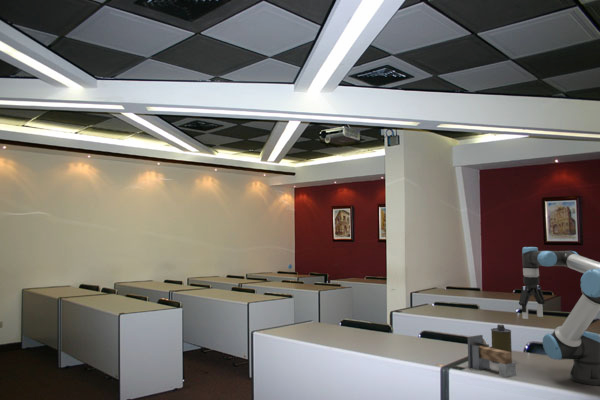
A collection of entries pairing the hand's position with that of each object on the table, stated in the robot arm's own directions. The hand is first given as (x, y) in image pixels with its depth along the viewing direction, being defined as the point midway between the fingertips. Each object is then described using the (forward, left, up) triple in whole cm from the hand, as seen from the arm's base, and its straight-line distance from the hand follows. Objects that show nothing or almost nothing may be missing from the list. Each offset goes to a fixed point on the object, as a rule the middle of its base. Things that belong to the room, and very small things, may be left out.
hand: (532, 317), depth 241 cm
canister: (+20, -2, -27) cm, 34 cm away
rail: (+11, +20, -21) cm, 31 cm away
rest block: (+3, +20, -27) cm, 33 cm away
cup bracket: (+19, +20, -27) cm, 38 cm away
